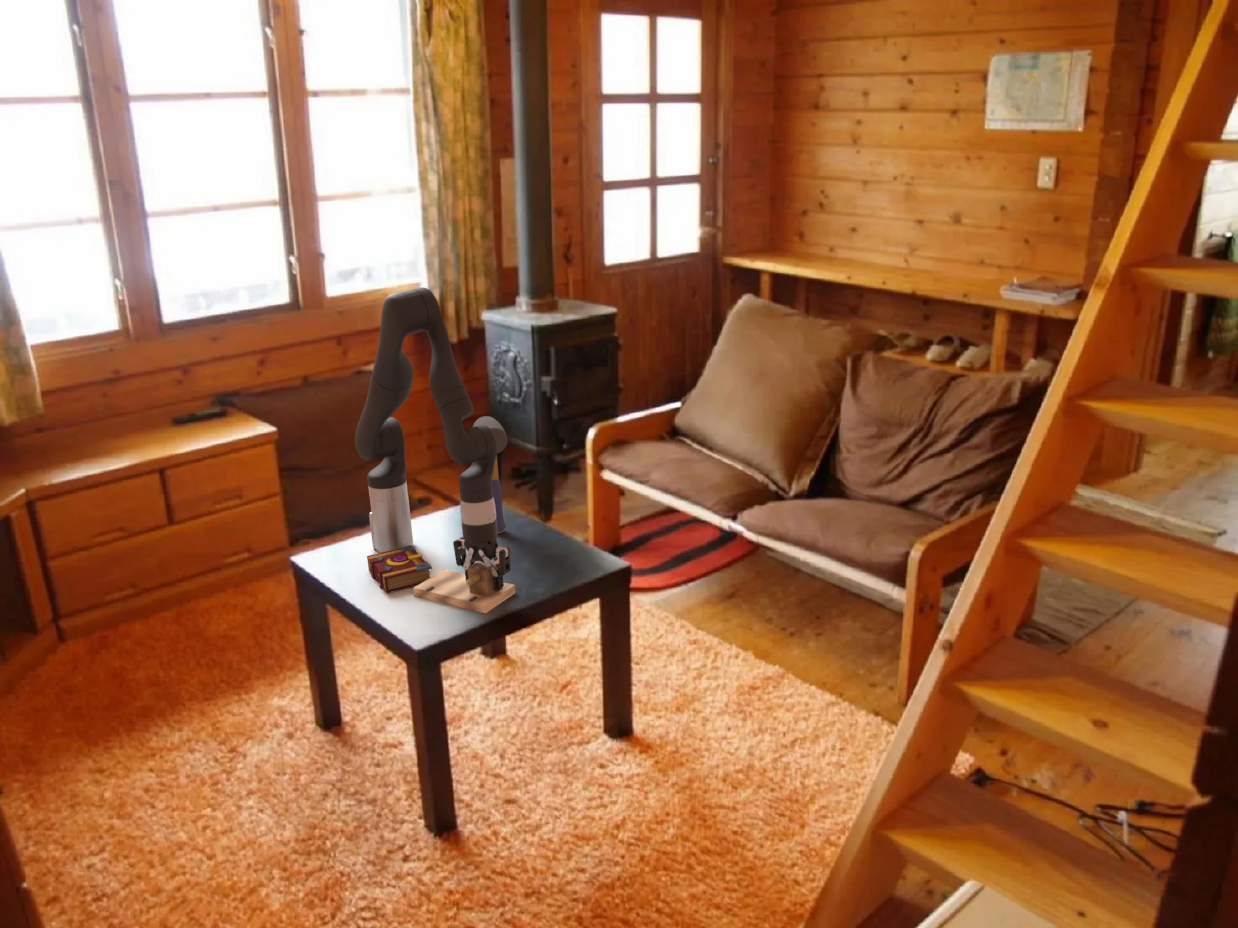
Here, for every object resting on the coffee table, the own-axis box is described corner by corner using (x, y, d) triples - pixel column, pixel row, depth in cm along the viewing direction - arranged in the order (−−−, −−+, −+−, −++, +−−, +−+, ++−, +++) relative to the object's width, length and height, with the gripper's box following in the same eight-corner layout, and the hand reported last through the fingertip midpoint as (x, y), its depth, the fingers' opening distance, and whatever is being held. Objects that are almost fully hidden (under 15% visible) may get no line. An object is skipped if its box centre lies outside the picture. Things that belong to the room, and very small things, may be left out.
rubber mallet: (517, 538, 264) (508, 425, 254) (487, 543, 262) (477, 428, 252) (507, 521, 275) (498, 412, 266) (479, 526, 273) (469, 415, 264)
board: (414, 595, 235) (413, 586, 234) (445, 577, 244) (444, 568, 243) (485, 613, 225) (484, 603, 224) (515, 592, 234) (514, 583, 233)
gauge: (461, 598, 228) (458, 573, 226) (488, 580, 236) (486, 556, 234) (479, 602, 226) (477, 577, 224) (506, 584, 234) (504, 559, 232)
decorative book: (386, 595, 236) (383, 575, 235) (366, 570, 250) (363, 551, 248) (434, 583, 241) (431, 563, 240) (412, 560, 255) (410, 541, 253)
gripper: (441, 518, 226) (448, 587, 231) (495, 528, 219) (501, 600, 224) (463, 506, 232) (469, 574, 237) (516, 516, 225) (521, 586, 230)
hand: (485, 587), depth 231 cm, fingers open, 6 cm apart
